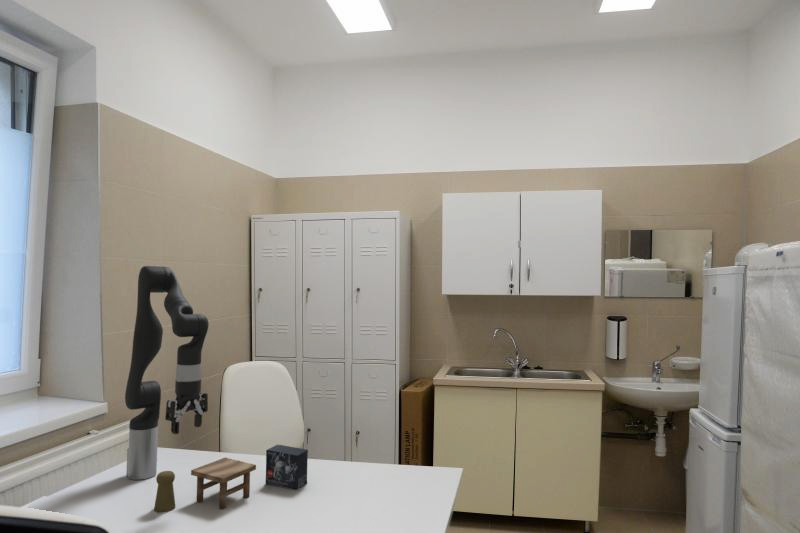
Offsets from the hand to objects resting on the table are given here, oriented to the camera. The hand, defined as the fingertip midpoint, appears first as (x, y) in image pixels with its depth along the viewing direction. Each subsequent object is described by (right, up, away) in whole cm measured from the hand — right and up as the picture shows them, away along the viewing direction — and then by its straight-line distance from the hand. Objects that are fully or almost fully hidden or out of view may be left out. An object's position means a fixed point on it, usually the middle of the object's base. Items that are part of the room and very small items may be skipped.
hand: (186, 430), depth 165 cm
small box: (+27, -25, +18) cm, 41 cm away
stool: (+10, -24, +5) cm, 26 cm away
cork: (-6, -23, -3) cm, 24 cm away
